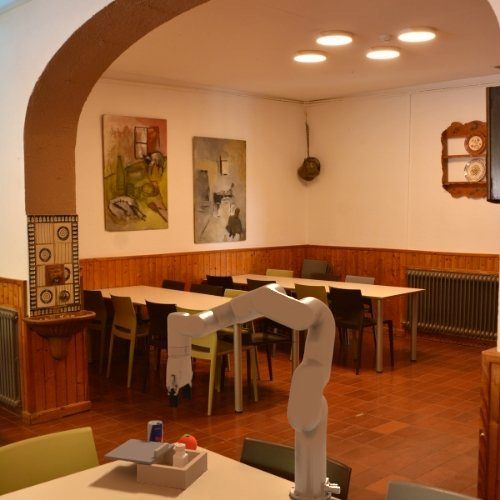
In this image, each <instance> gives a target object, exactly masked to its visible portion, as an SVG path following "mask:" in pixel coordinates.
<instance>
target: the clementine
mask: <svg viewBox="0 0 500 500" xmlns="http://www.w3.org/2000/svg"><path fill="white" fill-rule="evenodd" d="M179 443H183V444H185V449H189V450H197V449H198V442H197V439H196V438H195V437H194V436H193V435H191V434H187V433H186V434H183V435H182V436H181V437H180V438H179V440H178V442H177V444H179Z"/></svg>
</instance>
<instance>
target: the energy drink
mask: <svg viewBox="0 0 500 500" xmlns="http://www.w3.org/2000/svg"><path fill="white" fill-rule="evenodd" d="M163 427H164V424H163V421H162V420H159V419H157V420H156V419H155V420H150V421H148V422H147V428H146V429H147V441H152V442H159V443H164V429H163Z"/></svg>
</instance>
